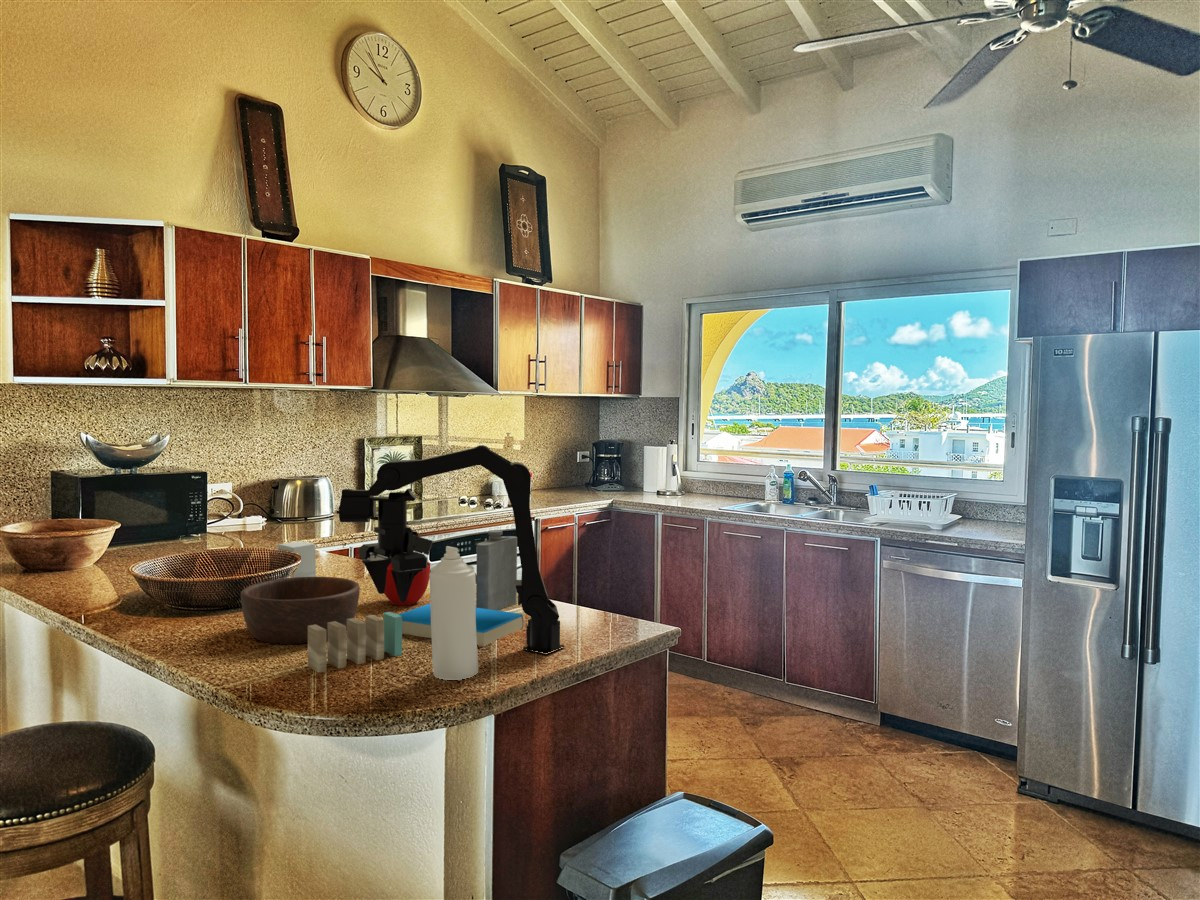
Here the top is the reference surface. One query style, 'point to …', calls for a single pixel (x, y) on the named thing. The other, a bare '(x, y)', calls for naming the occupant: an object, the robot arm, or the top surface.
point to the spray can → (453, 617)
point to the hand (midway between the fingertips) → (392, 597)
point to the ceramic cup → (415, 590)
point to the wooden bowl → (297, 606)
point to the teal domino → (392, 633)
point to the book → (487, 623)
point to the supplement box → (302, 557)
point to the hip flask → (496, 572)
